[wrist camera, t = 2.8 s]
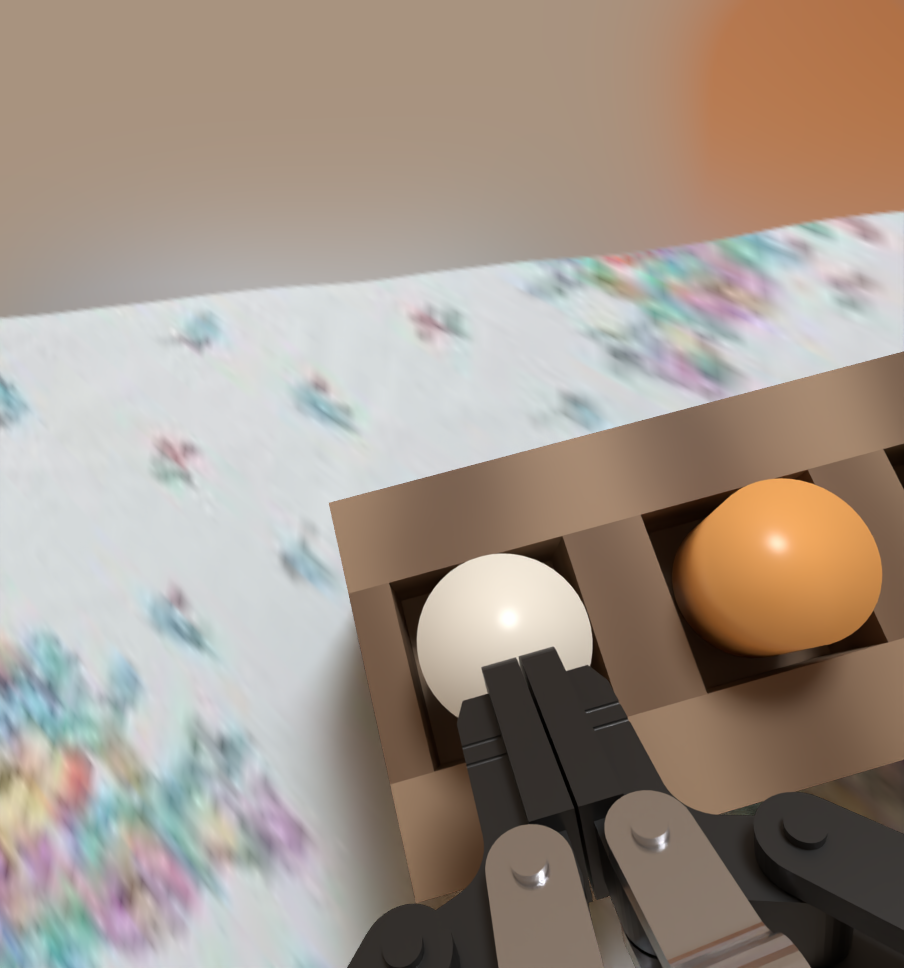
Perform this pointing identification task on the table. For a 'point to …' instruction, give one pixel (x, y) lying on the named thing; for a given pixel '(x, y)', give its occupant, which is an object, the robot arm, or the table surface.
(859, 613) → the orange egg
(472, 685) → the cream egg
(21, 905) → the table surface
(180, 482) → the table surface
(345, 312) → the table surface
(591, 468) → the wooden egg holder
